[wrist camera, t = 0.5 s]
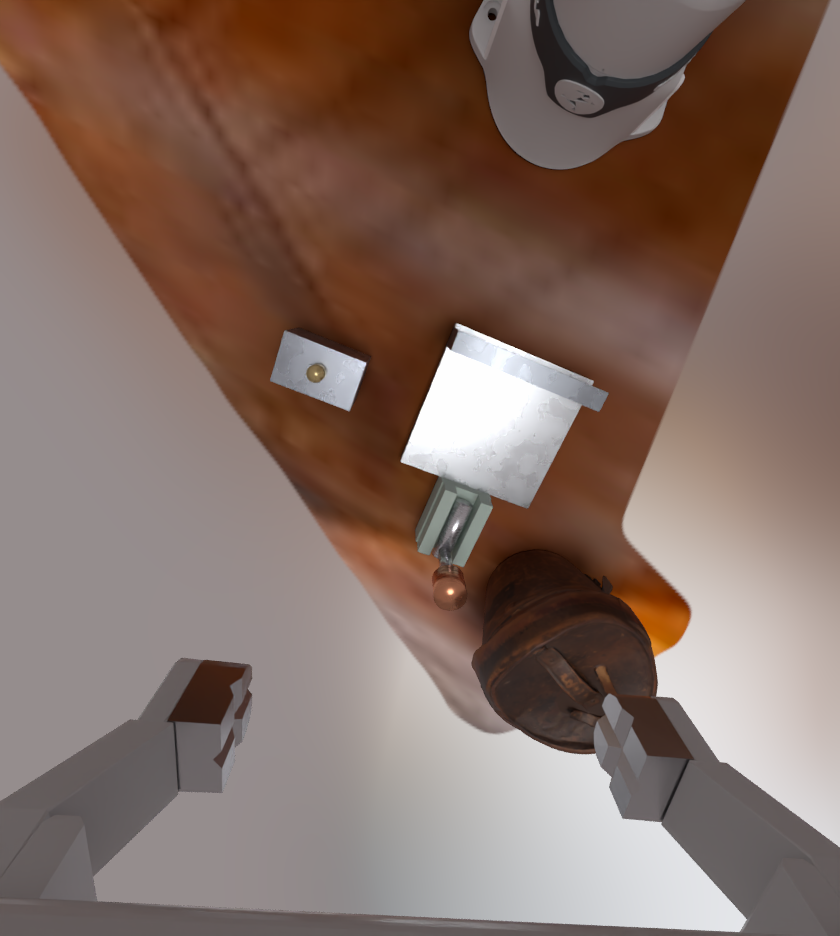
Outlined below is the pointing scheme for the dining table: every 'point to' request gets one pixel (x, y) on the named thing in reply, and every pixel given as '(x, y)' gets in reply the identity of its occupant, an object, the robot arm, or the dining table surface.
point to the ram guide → (439, 513)
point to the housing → (320, 367)
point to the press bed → (495, 416)
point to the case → (558, 650)
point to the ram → (450, 560)
